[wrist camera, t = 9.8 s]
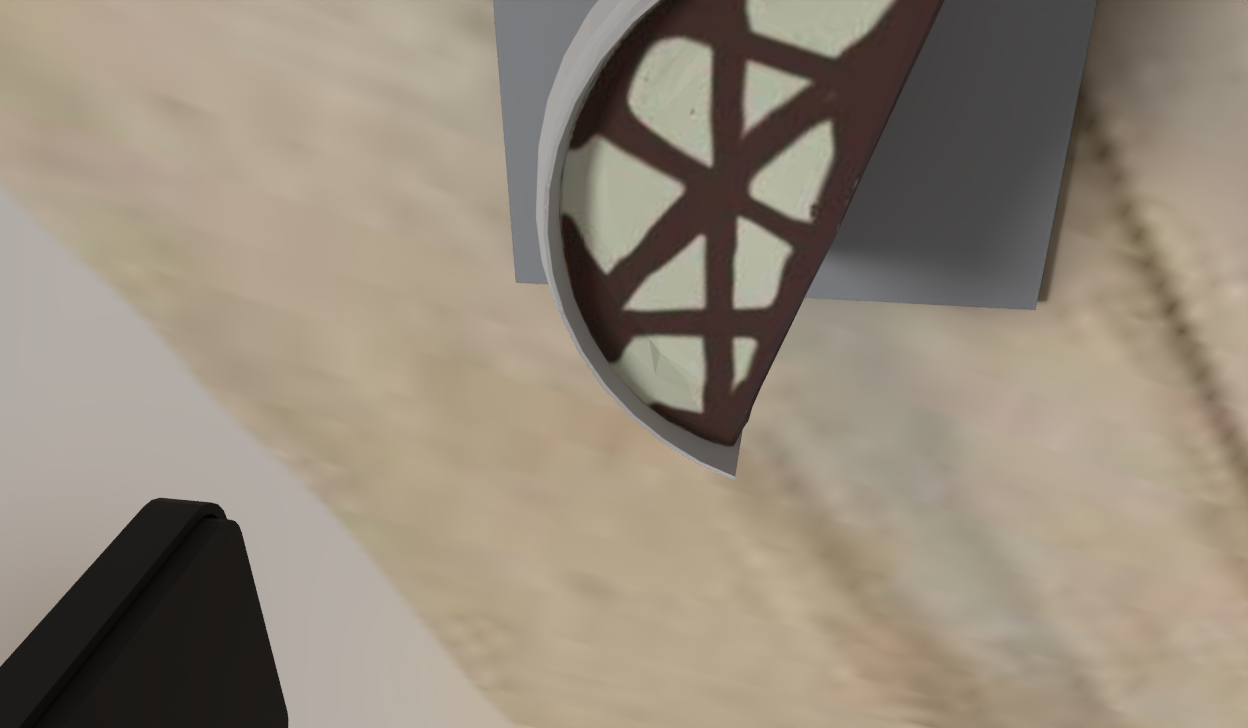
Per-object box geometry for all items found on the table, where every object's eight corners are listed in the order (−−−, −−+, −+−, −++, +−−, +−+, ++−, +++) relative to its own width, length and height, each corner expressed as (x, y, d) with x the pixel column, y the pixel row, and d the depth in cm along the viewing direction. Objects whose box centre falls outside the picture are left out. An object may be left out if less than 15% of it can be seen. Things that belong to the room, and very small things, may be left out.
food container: (694, -255, 24) (627, -244, 16) (946, -160, 24) (1013, -99, 16) (551, 214, 31) (449, 400, 22) (751, 287, 31) (725, 498, 23)
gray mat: (1032, 301, 30) (1035, 310, 30) (519, 275, 33) (515, 282, 32) (1144, -270, 23) (1150, -270, 23) (478, -255, 25) (472, -255, 25)
